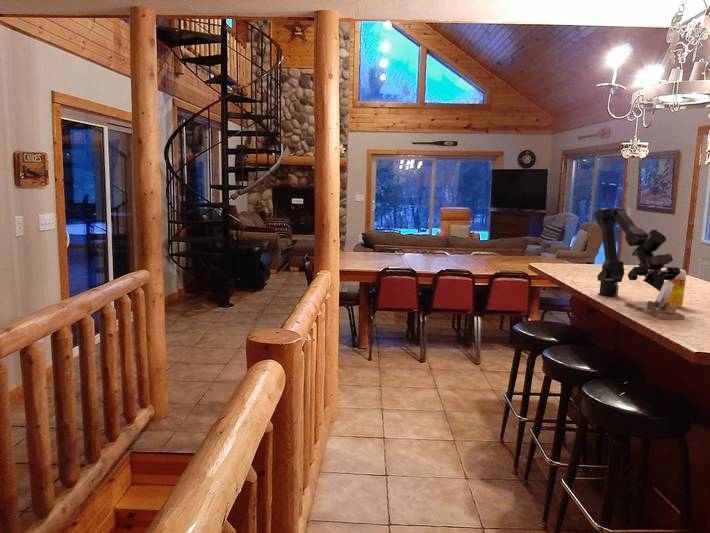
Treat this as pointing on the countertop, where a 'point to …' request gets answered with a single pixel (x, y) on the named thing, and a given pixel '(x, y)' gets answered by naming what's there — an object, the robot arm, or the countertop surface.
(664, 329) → the countertop surface
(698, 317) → the countertop surface
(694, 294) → the countertop surface
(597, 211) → the robot arm
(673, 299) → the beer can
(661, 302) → the lever
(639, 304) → the base
